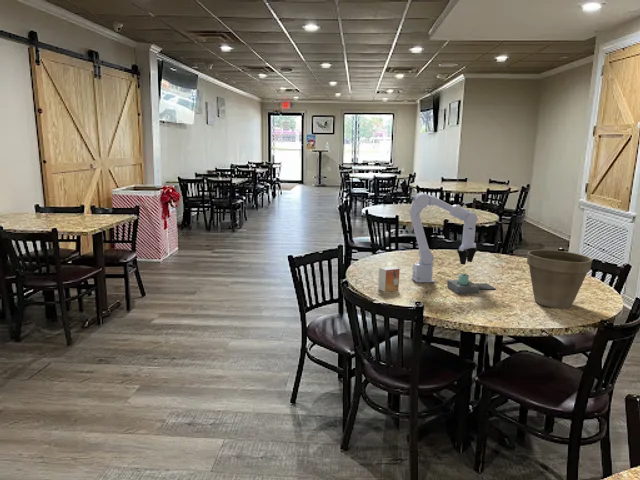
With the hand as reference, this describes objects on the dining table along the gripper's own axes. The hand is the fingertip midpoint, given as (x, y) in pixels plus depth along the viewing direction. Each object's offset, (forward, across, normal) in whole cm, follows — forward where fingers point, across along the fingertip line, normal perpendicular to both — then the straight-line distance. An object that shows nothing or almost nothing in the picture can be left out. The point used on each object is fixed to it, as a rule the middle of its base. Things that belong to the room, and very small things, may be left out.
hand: (466, 263), depth 238 cm
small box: (+10, -38, +20) cm, 44 cm away
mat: (+10, -2, -10) cm, 14 cm away
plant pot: (+10, -3, -43) cm, 44 cm away
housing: (+10, -14, -6) cm, 18 cm away
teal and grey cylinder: (+10, -14, -6) cm, 18 cm away
